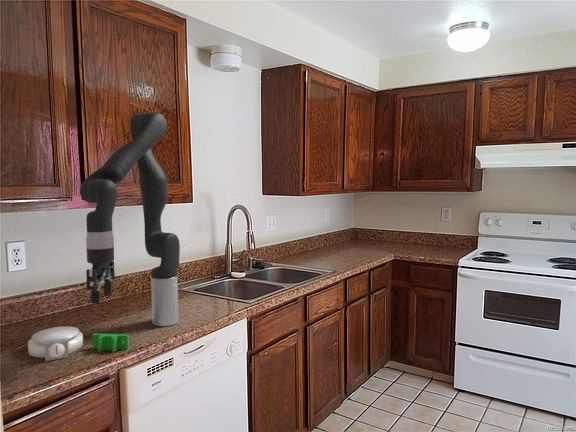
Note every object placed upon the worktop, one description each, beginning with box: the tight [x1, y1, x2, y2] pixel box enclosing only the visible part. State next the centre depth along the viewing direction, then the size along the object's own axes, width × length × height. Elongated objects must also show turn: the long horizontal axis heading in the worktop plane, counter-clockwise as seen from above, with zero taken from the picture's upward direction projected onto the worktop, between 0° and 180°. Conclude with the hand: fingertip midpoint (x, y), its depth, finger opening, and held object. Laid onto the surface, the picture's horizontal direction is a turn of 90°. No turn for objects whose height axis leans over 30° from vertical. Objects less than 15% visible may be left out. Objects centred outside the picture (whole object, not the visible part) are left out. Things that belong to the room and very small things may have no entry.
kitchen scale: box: [27, 326, 84, 362], centre depth 132 cm, size 18×15×5 cm
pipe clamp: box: [92, 333, 130, 353], centre depth 132 cm, size 11×4×5 cm, turn 86°
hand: (102, 299), depth 129 cm, fingers open, 8 cm apart
